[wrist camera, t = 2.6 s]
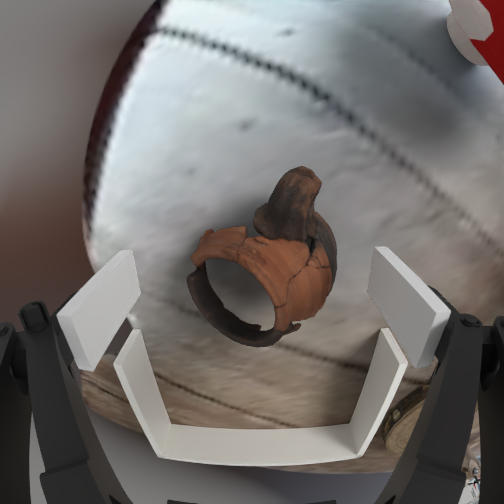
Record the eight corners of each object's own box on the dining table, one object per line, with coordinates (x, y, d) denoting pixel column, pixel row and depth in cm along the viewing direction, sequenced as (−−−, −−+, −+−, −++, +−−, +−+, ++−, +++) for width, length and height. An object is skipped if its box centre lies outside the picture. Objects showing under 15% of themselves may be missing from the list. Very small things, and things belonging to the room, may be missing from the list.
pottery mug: (325, 306, 24) (283, 378, 18) (233, 260, 27) (173, 311, 21) (379, 175, 17) (353, 223, 11) (253, 131, 20) (171, 154, 14)
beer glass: (460, 433, 34) (486, 492, 20) (473, 434, 35) (497, 487, 21) (432, 454, 36) (453, 512, 22) (447, 454, 37) (467, 507, 23)
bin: (388, 327, 24) (408, 363, 19) (353, 426, 30) (361, 457, 25) (133, 328, 25) (113, 364, 20) (166, 426, 31) (158, 457, 26)
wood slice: (493, 365, 28) (503, 378, 25) (436, 434, 33) (442, 447, 31) (421, 365, 27) (432, 383, 24) (360, 442, 32) (364, 458, 30)
